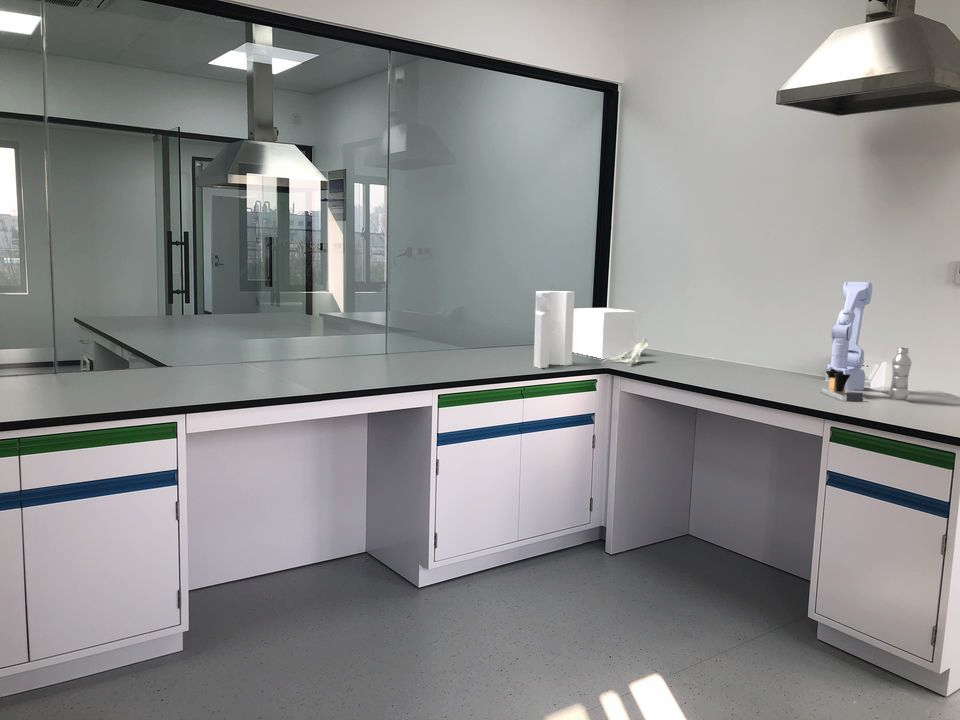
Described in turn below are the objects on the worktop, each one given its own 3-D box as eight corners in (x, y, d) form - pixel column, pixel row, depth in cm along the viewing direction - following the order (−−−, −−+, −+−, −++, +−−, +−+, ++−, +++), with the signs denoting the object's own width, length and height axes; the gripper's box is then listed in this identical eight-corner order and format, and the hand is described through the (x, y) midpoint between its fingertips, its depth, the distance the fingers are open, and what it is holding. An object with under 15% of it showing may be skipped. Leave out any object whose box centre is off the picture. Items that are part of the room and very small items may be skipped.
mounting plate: (843, 394, 300) (844, 385, 299) (866, 403, 282) (867, 393, 281) (819, 394, 300) (820, 384, 299) (840, 403, 282) (841, 393, 281)
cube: (634, 358, 397) (636, 311, 394) (601, 360, 387) (603, 312, 383) (603, 352, 419) (605, 307, 415) (572, 354, 408) (573, 308, 405)
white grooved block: (573, 365, 364) (541, 369, 351) (556, 362, 373) (524, 366, 360) (575, 292, 359) (543, 292, 346) (558, 290, 368) (526, 291, 355)
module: (839, 392, 299) (840, 377, 298) (844, 394, 295) (845, 379, 294) (828, 392, 299) (829, 377, 298) (833, 394, 295) (834, 379, 294)
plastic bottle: (901, 398, 293) (906, 347, 291) (911, 402, 287) (916, 349, 284) (884, 398, 293) (889, 346, 290) (894, 402, 286) (899, 349, 284)
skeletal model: (600, 363, 373) (626, 327, 382) (608, 376, 378) (634, 340, 387) (625, 367, 360) (652, 329, 370) (634, 380, 365) (659, 342, 375)
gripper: (821, 352, 302) (818, 386, 304) (838, 357, 288) (835, 393, 290) (838, 353, 302) (835, 386, 304) (856, 358, 288) (853, 393, 290)
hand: (836, 390), depth 297 cm, fingers closed on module, 4 cm apart
